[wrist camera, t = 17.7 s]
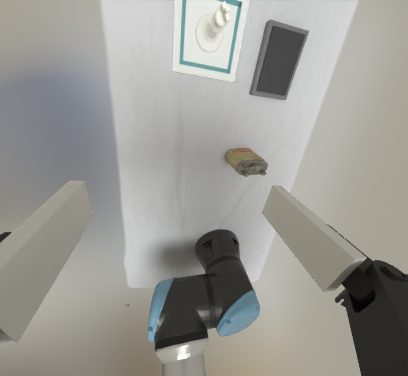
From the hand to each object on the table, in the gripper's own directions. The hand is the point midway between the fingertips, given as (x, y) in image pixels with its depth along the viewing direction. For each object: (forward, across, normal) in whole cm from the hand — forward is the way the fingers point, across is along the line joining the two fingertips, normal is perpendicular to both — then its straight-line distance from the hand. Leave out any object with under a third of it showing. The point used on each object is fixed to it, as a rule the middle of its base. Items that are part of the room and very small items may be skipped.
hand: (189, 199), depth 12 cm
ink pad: (+27, -19, -14) cm, 36 cm away
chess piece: (+27, -5, -16) cm, 31 cm away
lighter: (+27, -16, +5) cm, 32 cm away
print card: (+27, -5, -16) cm, 32 cm away
